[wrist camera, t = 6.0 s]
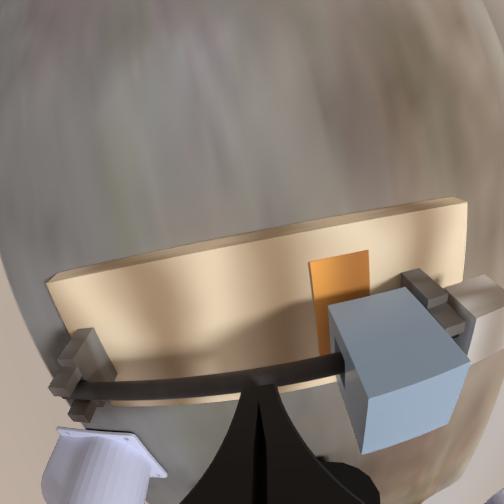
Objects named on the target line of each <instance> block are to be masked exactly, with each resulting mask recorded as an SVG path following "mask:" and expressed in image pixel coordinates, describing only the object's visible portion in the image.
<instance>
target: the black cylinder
mask: <svg viewBox="0 0 504 504" xmlns="http://www.w3.org/2000/svg"><path fill="white" fill-rule="evenodd" d="M321 464H322V465H323V466H324V467H325V468H326V469H327V470H328V471H329V472H330V473H331V474H332V475H333V476H334V477H335V478H336V479H337V480H338V481H339V482H340V483H341V484H342V485H343V486H345V487H346V488H347V489H348V490H349V491H350V492H352V493H353V494H354V495H355V496H357V497H358V498H359V499H360V500H362V501H363V502H364V503H365V504H380V494H379V491H378V490H377V488H376V486H375V485H374V483H373V482H372V480H371V478H370V477H369V476H368V475H367V474H365V473H364V472H362V471H361V470H359V469H358V468H355V467H353V466H350V465H347V464H345V463H338V462H321Z"/></svg>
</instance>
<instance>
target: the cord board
mask: <svg viewBox="0 0 504 504" xmlns="http://www.w3.org/2000/svg"><path fill="white" fill-rule="evenodd" d="M466 231H467V202H465V201H462V200H460V199H457V198H455V197H446V198H440V199H434V200H428V201H422V202H416V203H410V204H404V205H398V206H392V207H386V208H380V209H374V210H369V211H363V212H357V213H352V214H346V215H340V216H335V217H329V218H324V219H318V220H313V221H307V222H302V223H297V224H291V225H286V226H281V227H275V228H270V229H265V230H260V231H255V232H249V233H244V234H239V235H234V236H229V237H224V238H219V239H214V240H209V241H204V242H199V243H194V244H189V245H184V246H179V247H174V248H170V249H165V250H160V251H155V252H150V253H146V254H141V255H136V256H132V257H127V258H122V259H118V260H113V261H108V262H104V263H99V264H95V265H90V266H86V267H81V268H77V269H72V270H68V271H64V272H59V273H57V274H56V275H55V276H54V277H53V278H52V279H50V280H49V281H48V282H47V283H46V285H47V287H48V289H49V292H50V294H51V296H52V298H53V301H54V303H55V305H56V307H57V309H58V311H59V314H60V316H61V318H62V320H63V322H64V324H65V326H66V328H67V330H68V332H69V334H70V336H71V337H72V338H71V340H70V341H69V343H68V344H67V345H66V347H65V348H64V350H63V351H62V353H61V354H60V355H59V357H58V358H57V361H58V363H59V364H60V366H61V368H60V369H59V371H58V372H57V374H56V375H55V377H54V379H53V380H52V382H51V383H50V385H49V387H48V388H49V390H50V391H51V392H52V394H53V395H54V396H61V397H62V398H63V399H75V400H74V402H73V404H72V406H71V408H70V410H69V412H68V415H69V416H70V418H71V419H72V420H73V421H76V422H86V423H90V421H91V419H92V416H93V414H94V412H95V409H96V407H103V406H104V404H105V402H106V401H110V403H111V404H112V406H165V405H183V404H197V403H209V402H219V401H228V400H236V399H239V398H240V394H241V390H242V389H243V388H247V387H254V386H261V385H267V384H273V383H274V384H276V385H277V386H278V391H279V393H283V392H288V391H294V390H299V389H304V388H309V387H314V386H319V385H323V384H328V383H332V382H336V381H337V379H336V376H335V375H338V374H342V373H345V360H344V358H343V355H342V353H341V351H340V352H336V353H331V344H330V330H329V316H328V305H332V304H337V303H341V302H345V301H350V300H354V299H358V298H363V297H367V296H371V295H375V294H379V293H383V292H387V291H391V290H395V289H399V288H403V287H406V288H407V289H408V290H409V291H410V292H411V293H412V294H413V295H414V296H415V298H416V299H417V300H418V301H419V302H420V303H421V304H422V305H423V306H424V307H425V308H426V309H427V311H428V312H429V313H430V314H431V315H432V316H433V317H434V318H435V319H436V321H437V322H438V323H439V324H440V325H441V326H442V327H443V329H444V330H445V331H446V332H447V333H448V334H449V335H450V337H451V338H452V339H453V340H454V341H455V342H456V344H457V345H458V346H459V347H460V348H461V350H462V351H463V352H464V353H465V354H466V356H467V357H468V358H469V359H470V361H471V363H470V365H471V364H474V363H476V362H478V361H480V360H482V359H484V358H486V357H488V356H490V355H492V354H494V353H496V352H498V351H500V350H502V349H504V289H503V288H502V287H500V286H499V285H498V284H496V283H495V282H494V281H492V280H491V279H490V278H488V277H487V276H486V275H481V276H478V277H475V278H472V279H469V280H466V281H463V282H462V279H463V270H464V260H465V248H466Z"/></svg>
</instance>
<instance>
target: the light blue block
mask: <svg viewBox="0 0 504 504" xmlns="http://www.w3.org/2000/svg"><path fill="white" fill-rule="evenodd" d="M328 316H329V330H330V344H331V353H336V352H340V351H341V353H342V355H343V358H344V360H345V373H342V374H338V375H335V376H336V379H337V382H338V385H339V388H340V391H341V394H342V397H343V400H344V403H345V406H346V409H347V412H348V415H349V418H350V421H351V424H352V427H353V430H354V433H355V436H356V439H357V442H358V445H359V449H360V452H361V455H363V454H367V453H370V452H374V451H377V450H380V449H383V448H386V447H389V446H392V445H395V444H398V443H401V442H404V441H407V440H409V439H412V438H415V437H417V436H420V435H422V434H425V433H427V432H430V431H432V430H434V429H437V428H439V427H441V426H444V425H446V424H448V422H449V419H450V417H451V415H452V412H453V410H454V407H455V405H456V402H457V400H458V397H459V395H460V392H461V389H462V386H463V384H464V381H465V378H466V375H467V372H468V369H469V366H470V363H471V361H470V359H469V358H468V357H467V356H466V354H465V353H464V352H463V351H462V350H461V348H460V347H459V346H458V345H457V344H456V342H455V341H454V340H453V339H452V338H451V337H450V335H449V334H448V333H447V332H446V331H445V330H444V329H443V327H442V326H441V325H440V324H439V323H438V322H437V321H436V319H435V318H434V317H433V316H432V315H431V314H430V313H429V312H428V311H427V309H426V308H425V307H424V306H423V305H422V304H421V303H420V302H419V301H418V300H417V299H416V298H415V296H414V295H413V294H412V293H411V292H410V291H409V290H408V289H407V288H406V287H403V288H399V289H395V290H391V291H387V292H383V293H379V294H375V295H371V296H367V297H363V298H358V299H354V300H350V301H345V302H341V303H337V304H332V305H328Z"/></svg>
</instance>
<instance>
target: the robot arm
mask: <svg viewBox="0 0 504 504" xmlns="http://www.w3.org/2000/svg"><path fill="white" fill-rule="evenodd" d="M56 430H57V432H58V433H59V434H60V437H59V439H58V441H57V443H56V446H55V448H54V450H53V452H52V455H51V457H50V459H49V461H48V464H47V466H46V468H45V471H44V473H43V476H42V481H41V488H42V494H43V497H44V499H45V501H46V503H47V504H144V503H145V498H146V493H147V488H148V483H149V478H150V477H161V478H165V477H167V473H166V472H165V470H164V469H163V468H162V467H161V466H160V465H159V464H158V462H157V461H156V460H155V459H154V458H153V456H152V455H151V454H150V453H149V452H148V450H147V449H146V448H145V447H144V445H143V444H142V443H141V442H140V440H139V439H138V438H137V436H136V435H134V434H132V433H121V432H105V431H93V430H83V429H74V428H66V427H57V429H56ZM180 504H365V503H364V502H363V501H362V500H360V499H359V498H358V497H357V496H355V495H354V494H353V493H352V492H350V491H349V490H348V489H347V488H346V487H345V486H343V485H342V484H341V483H340V482H339V481H338V480H337V479H336V478H335V477H334V476H333V475H332V474H331V473H330V472H329V471H328V470H327V469H326V468H325V467H324V466H323V465H322V464H321V462H320V461H319V460H318V459H317V458H316V457H315V455H314V454H313V453H312V451H311V450H310V449H309V448H308V446H307V445H306V443H305V442H304V441H303V439H302V438H301V436H300V435H299V433H298V432H297V430H296V428H295V427H294V425H293V423H292V421H291V420H290V418H289V416H288V414H287V412H286V410H285V408H284V406H283V403H282V401H281V398H280V395H279V391H278V386H277V385H276V384H274V383H273V384H267V385H261V386H254V387H247V388H243V389H242V390H241V394H240V398H239V402H238V405H237V408H236V411H235V414H234V417H233V420H232V422H231V425H230V427H229V430H228V432H227V434H226V436H225V438H224V441H223V443H222V445H221V447H220V449H219V451H218V452H217V454H216V456H215V458H214V459H213V461H212V463H211V464H210V466H209V467H208V469H207V470H206V472H205V473H204V475H203V476H202V477H201V479H200V480H199V482H198V483H197V484H196V485H195V487H194V488H193V489H192V490H191V491H190V492H189V494H188V495H187V496H186V497H185V498H184V499H183V500H182V501H181V503H180ZM485 504H504V488H503V489H502V490H500V491H499V492H497V493H496V494H495V495H493V496H492V497H491V498H490V499H489V500H488V501H487V502H486V503H485Z"/></svg>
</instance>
